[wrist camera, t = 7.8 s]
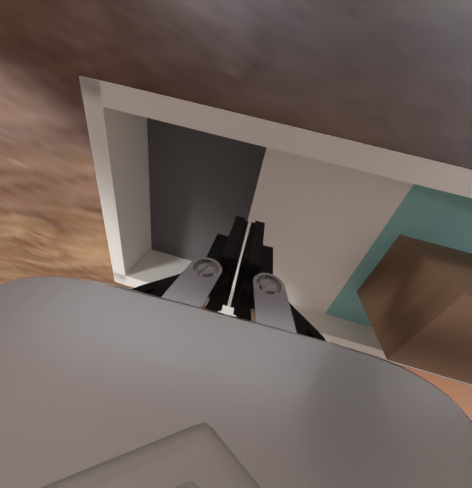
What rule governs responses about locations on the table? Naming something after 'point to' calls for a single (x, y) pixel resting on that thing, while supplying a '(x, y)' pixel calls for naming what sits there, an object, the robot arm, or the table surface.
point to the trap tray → (264, 200)
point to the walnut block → (423, 307)
